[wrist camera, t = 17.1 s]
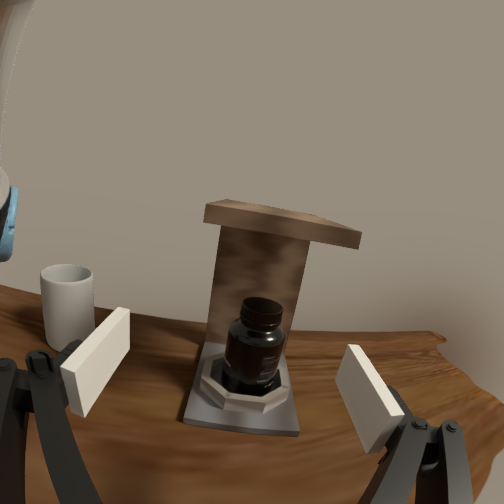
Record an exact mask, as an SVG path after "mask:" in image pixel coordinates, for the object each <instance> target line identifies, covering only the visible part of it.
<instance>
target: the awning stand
mask: <svg viewBox="0 0 504 504" xmlns="http://www.w3.org/2000/svg"><path fill="white" fill-rule="evenodd" d="M203 222H204V223H211V224H217V225H221V230H220V236H219V243H218V249H217V257H216V263H215V270H214V277H213V284H212V291H211V299H210V306H209V314H208V322H207V329H206V338H205V343H204V347H203V350H202V354H201V357H200V361H199V364H198V367H197V371H196V375H195V378H194V382H193V385H192V389H191V392H190V396H189V399H188V403H187V407H186V410H185V414H184V418H183V423H185V424H190V425H196V426H201V427H207V428H213V429H219V430H226V431H234V432H242V433H251V434H262V435H276V436H298V435H299V432H300V429H299V424H298V419H297V414H296V409H295V404H294V399H293V394H292V389H291V384H290V379H289V374H288V369H287V364H286V359H285V354H284V352H285V348H286V344H287V340H288V336H289V332H290V328H291V324H292V320H293V316H294V312H295V308H296V304H297V300H298V295H299V291H300V287H301V282H302V278H303V273H304V268H305V264H306V259H307V255H308V249H309V245H310V241H315V242H321V243H326V244H331V245H337V246H342V247H347V248H353V249H358V248H359V244H360V239H361V235H362V232H360V231H357V230H354V229H352V228H349V227H346V226H344V225H341V224H338V223H335V222H332V221H330V220H327V219H324V218H321V217H318V216H315V215H312V214H306V213H301V212H296V211H291V210H285V209H280V208H275V207H269V206H263V205H258V204H252V203H245V202H239V201H233V200H228V199H225V200H221V201H216V202H211V203H207V204H206V207H205V214H204V221H203ZM248 297H263V298H267V299H271V300H274V301H276V302H277V303H279V304H280V305H281V306H282V307H283V314H282V321H281V324H280V326H281V328H282V329H283V331H284V334H285V341H284V346H283V349H282V353H281V357H280V360H279V364H278V368H277V371H276V375H275V378H274V382H273V385H272V388H271V390H270V392H269V393H268V394H267V395H265V396H263V397H257V396H249V395H241V394H234V393H229V392H228V391H227V390H225V389H224V388H223V386H222V384H221V373H222V366H223V360H224V354H225V348H226V342H227V336H228V330H229V326H230V325H231V323H232V322H233V321H234V320H235V319H237V318H239V314H240V310H241V305H242V302H243V300H244V299H246V298H248Z"/></svg>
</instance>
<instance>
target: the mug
mask: <svg viewBox="0 0 504 504" xmlns="http://www.w3.org/2000/svg"><path fill="white" fill-rule="evenodd" d="M40 285H41V298H42V308H43V317H44V325H45V333H46V339H47V342H48V344H49V346H50V347H51V348H53V349H54V350H56V351H58V352H61V351H62V350H63V349H64V348H65V347H66V346H67V345H68V344H69V343H70V342H72V341H74V340H77V339H79V340H81V341H85V340H86V339H87V338H88V337H89V336H90V335H91V334H92V332H93V331H94V330H95V321H94V297H93V295H94V294H93V272H92V271H91V270H89V269H88V268H85V267H82V266H78V265H73V264H59V265H52V266H49V267H46V268H44V269H43V270H42V271H41V273H40Z"/></svg>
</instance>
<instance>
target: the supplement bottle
mask: <svg viewBox="0 0 504 504" xmlns="http://www.w3.org/2000/svg"><path fill="white" fill-rule="evenodd" d="M282 314H283V307H282V306H281V305H280V304H279V303H277V302H276V301H274V300H271V299H267V298H263V297H248V298H246V299H244V300H243V302H242V305H241V310H240V314H239V318H237V319H235V320H234V321H233V322H232V323H231V325H230V326H229V330H228V336H227V342H226V348H225V354H224V360H223V366H222V373H221V384H222V386H223V388H224V389H225V390H227V391H228V392H229V393H234V394H241V395H249V396H257V397H263V396H265V395H267V394H268V393H269V392H270V390H271V388H272V385H273V382H274V378H275V375H276V371H277V368H278V364H279V360H280V357H281V353H282V349H283V346H284V341H285V334H284V331H283V329H282V328H281V326H280V324H281V321H282Z"/></svg>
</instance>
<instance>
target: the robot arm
mask: <svg viewBox="0 0 504 504" xmlns="http://www.w3.org/2000/svg"><path fill="white" fill-rule="evenodd" d="M35 1H36V0H0V166H1V145H2V132H3V123H4V115H5V108H6V102H7V96H8V91H9V85H10V80H11V76H12V71H13V68H14V64H15V60H16V56H17V52H18V49H19V45H20V42H21V39H22V36H23V33H24V30H25V27H26V24H27V21H28V19H29V16H30V14H31V11H32V8H33V6H34V4H35ZM18 193H19V192H18V189H17V188H16V187H13V186H10V185H9V179H8V176H7V174H6V172H5V171H4V170H3V169H2V168H1V167H0V262H5V261H7V260H9V259H10V257H11V255H12V250H13V239H14V227H15V219H16V210H17V202H18ZM129 349H130V310H129V309H126V308H121V307H117V308H116V309H115V310H114V311H113V312H112V313H111V314H110V315H109V316H108V317H107V318H106V319H105V320H104V321H103V322H102V323H101V324H100V325H99V326H98V327H97V328H96V329H95V330H94V331H93V332H92V334H91V335H90V336H89V337H88V338H87V339H86V340H85V341H81V340H79V339H77V340H74V341H72V342H70V343H69V344H68V345H67V346H66V347H65V348H64V349H63V350H62V351H61V352H60V353H58V354H57V355H56V356H55V357H54V358H53V359H52V356H51V354H50V353H48V352H47V351H44V350H34V351H31V352H29V353H28V354H27V355H26V358H25V361H26V365H27V368H28V371H26V370H21V369H17V365H16V363H15V361H13V360H12V359H10V358H1V359H0V504H25V450H26V437H27V427H28V418H29V412H31V413H35V419H36V424H37V429H38V433H39V438H40V442H41V446H42V450H43V453H44V457H45V461H46V464H47V467H48V471H49V474H50V477H51V480H52V483H53V486H54V489H55V491H56V494H57V497H58V499H59V502H60V504H103V503H102V501H101V499H100V497H99V495H98V493H97V491H96V489H95V487H94V485H93V483H92V481H91V478H90V476H89V474H88V472H87V469H86V467H85V465H84V462H83V460H82V457H81V455H80V452H79V450H78V447H77V444H76V442H75V439H74V436H73V433H72V430H71V427H70V424H69V421H68V418H67V415H66V411H65V408H66V407H67V405H68V404H69V407H70V410H71V412H72V413H75V414H77V415H79V416H82V417H84V418H85V417H86V415H87V413H88V412H89V410H90V409H91V407H92V405H93V404H94V402H95V401H96V399H97V397H98V396H99V394H100V393H101V391H102V390H103V388H104V387H105V385H106V384H107V382H108V380H109V379H110V377H111V376H112V374H113V373H114V371H115V370H116V368H117V367H118V365H119V364H120V362H121V361H122V359H123V358H124V356H125V355H126V353H127V352H128V350H129ZM335 382H336V384H337V387H338V389H339V391H340V393H341V396H342V398H343V400H344V403H345V405H346V407H347V410H348V412H349V414H350V417H351V419H352V421H353V424H354V426H355V429H356V431H357V433H358V436H359V438H360V440H361V443H362V445H363V448H364V450H365V453H366V455H367V454H375V453H380V451H381V450H382V449H383V447H384V446H386V448H387V452H386V453H385V454H384V456H383V457H382V458H381V460H380V461H379V462H378V464H379V466H378V468H377V470H376V472H375V474H374V476H373V478H372V480H371V481H370V483H369V485H368V487H367V488H366V490H365V492H364V494H363V495H362V497H361V499H360V500H359V502H358V504H406V502H407V500H408V497H409V495H410V492H411V489H412V487H413V484H414V481H415V478H416V496H415V504H473V495H472V485H471V477H470V470H469V464H468V458H467V452H466V447H465V442H464V437H463V433H462V429H461V426H460V425H459V424H458V423H457V422H455V421H452V420H446V421H444V422H443V423H442V424H441V426H440V427H432V426H429V424H428V422H427V421H425V420H424V419H422V418H420V417H414V416H413V414H412V413H411V411H410V410H409V408H408V407H407V405H406V404H405V403H404V401H403V400H402V398H400V395H399V394H398V392H397V391H396V390H395V389H394V388H392V387H391V386H386V385H385V383H384V382H383V380H382V379H381V377H380V376H379V374H378V373H377V371H376V370H375V368H374V367H373V365H372V364H371V362H370V361H369V359H368V358H367V356H366V355H365V353H364V352H363V350H362V349H361V347H360V346H359V345H350V344H348V346H347V349H346V351H345V354H344V357H343V360H342V362H341V365H340V367H339V370H338V372H337V375H336V377H335ZM416 475H417V477H416Z"/></svg>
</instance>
